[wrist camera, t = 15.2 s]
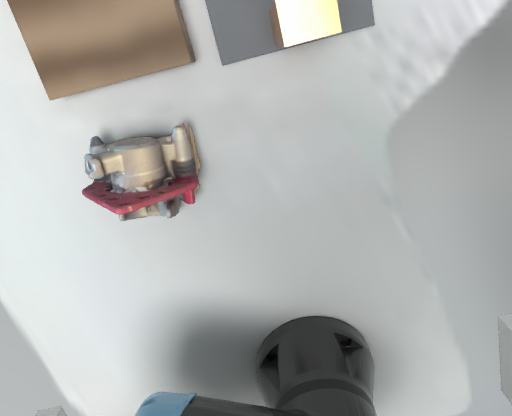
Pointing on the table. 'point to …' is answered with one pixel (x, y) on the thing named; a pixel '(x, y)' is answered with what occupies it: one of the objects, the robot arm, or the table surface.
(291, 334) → the robot arm
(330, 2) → the square frame with handle
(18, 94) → the table surface
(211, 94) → the table surface
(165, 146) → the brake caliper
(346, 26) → the rubber mat
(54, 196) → the table surface
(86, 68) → the wooden peg stand
